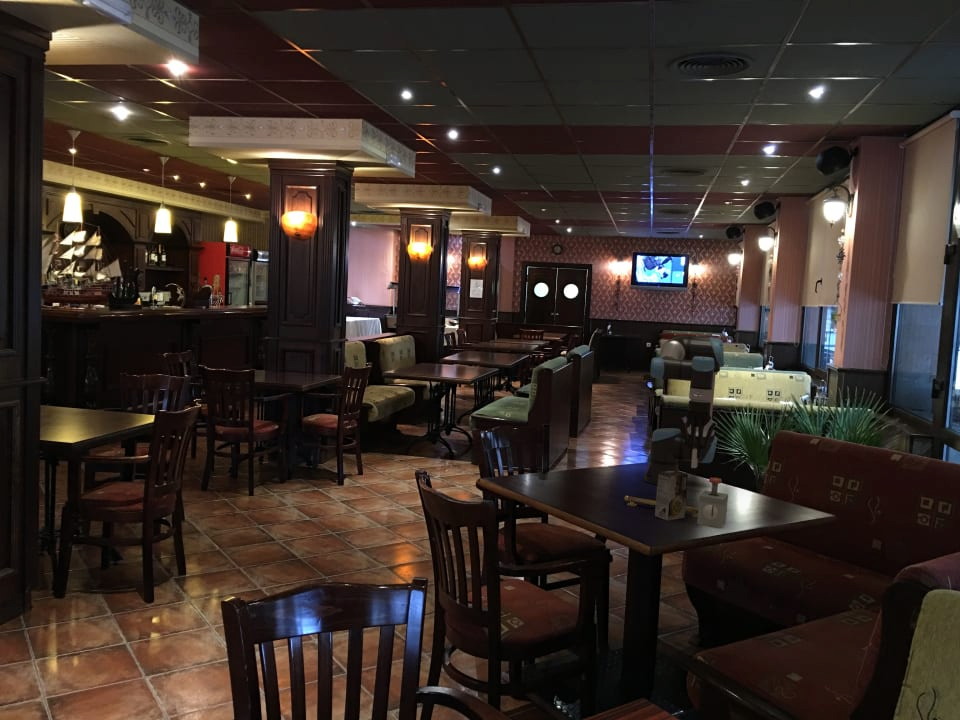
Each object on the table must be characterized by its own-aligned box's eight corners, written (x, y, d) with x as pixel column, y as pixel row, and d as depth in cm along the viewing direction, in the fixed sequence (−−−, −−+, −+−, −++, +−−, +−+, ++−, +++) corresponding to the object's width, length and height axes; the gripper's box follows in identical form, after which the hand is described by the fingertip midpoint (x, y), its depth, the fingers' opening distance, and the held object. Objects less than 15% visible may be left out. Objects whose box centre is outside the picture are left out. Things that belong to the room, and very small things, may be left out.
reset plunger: (709, 491, 267) (710, 476, 266) (721, 493, 265) (722, 478, 265) (707, 493, 263) (708, 478, 263) (719, 495, 261) (720, 480, 261)
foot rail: (623, 504, 283) (623, 495, 283) (624, 502, 286) (625, 494, 285) (705, 518, 270) (705, 509, 270) (706, 517, 272) (707, 508, 272)
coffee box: (671, 513, 274) (675, 469, 273) (685, 518, 269) (689, 473, 268) (653, 515, 269) (657, 471, 268) (667, 520, 264) (671, 475, 263)
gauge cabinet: (702, 517, 271) (705, 490, 270) (725, 521, 268) (728, 494, 267) (696, 524, 262) (699, 496, 261) (720, 528, 258) (723, 500, 257)
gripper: (678, 399, 265) (673, 466, 266) (716, 403, 259) (710, 471, 260) (683, 397, 271) (678, 462, 273) (721, 402, 265) (715, 468, 267)
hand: (694, 467), depth 266 cm, fingers closed
